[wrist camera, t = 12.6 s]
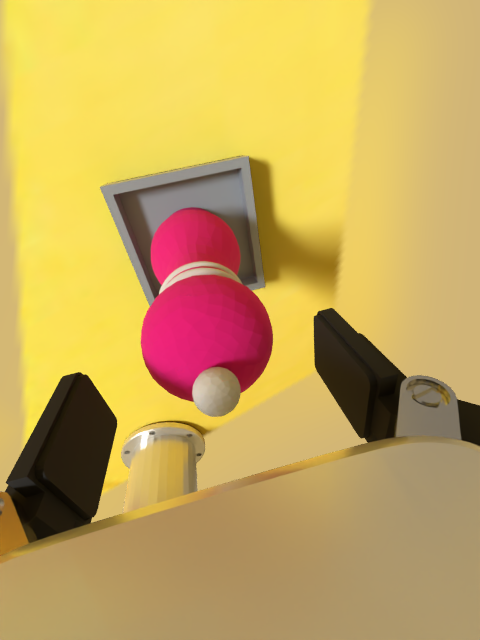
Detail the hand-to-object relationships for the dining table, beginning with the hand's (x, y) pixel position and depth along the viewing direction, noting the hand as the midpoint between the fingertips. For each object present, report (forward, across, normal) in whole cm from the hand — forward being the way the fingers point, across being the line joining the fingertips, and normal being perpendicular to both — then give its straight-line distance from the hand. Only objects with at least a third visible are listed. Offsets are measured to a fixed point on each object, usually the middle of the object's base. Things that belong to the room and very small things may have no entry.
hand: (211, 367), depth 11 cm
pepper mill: (+18, 0, 0) cm, 18 cm away
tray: (+18, 0, -1) cm, 19 cm away
